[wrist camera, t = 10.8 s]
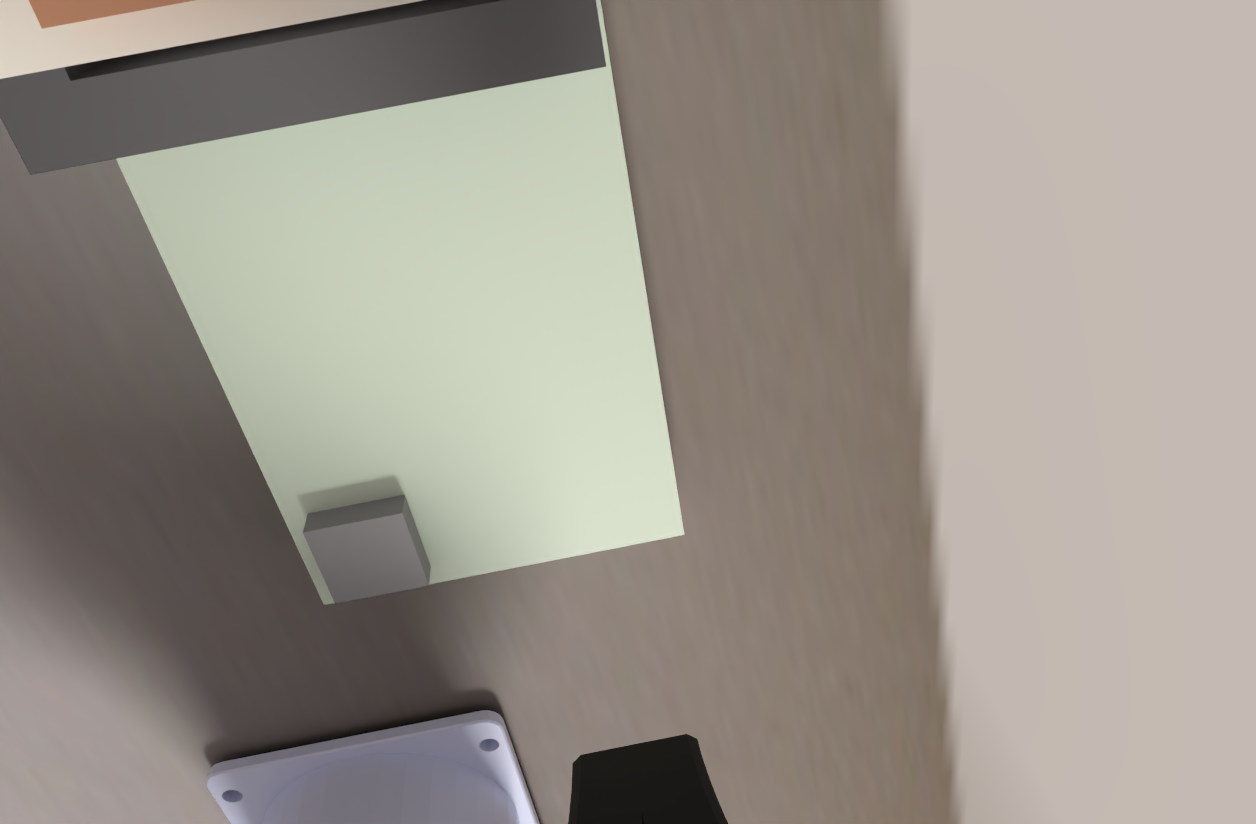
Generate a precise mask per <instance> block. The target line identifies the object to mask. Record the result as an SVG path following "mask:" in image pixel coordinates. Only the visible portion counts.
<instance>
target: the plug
mask: <svg viewBox="0 0 1256 824" xmlns="http://www.w3.org/2000/svg"><path fill="white" fill-rule="evenodd" d="M418 1H423V0H0V79H3V78H8V77H14V76H19V75H24V74H30V73H35V72H41V71H46V70H51V69H57V68H62V67H68V66H73V65H78V64H84V63H89V62H94V61H100V60H105V59H111V58H116V57H121V56H127V55H132V54H138V53H143V52H148V51H154V50H159V49H165V48H170V47H175V46H181V45H186V44H192V43H197V42H202V41H208V40H213V39H218V38H224V37H229V36H235V35H240V34H245V33H251V32H256V31H262V30H267V29H272V28H278V27H283V26H289V25H294V24H299V23H305V22H310V21H315V20H321V19H326V18H332V17H337V16H342V15H348V14H353V13H359V12H364V11H369V10H375V9H380V8H386V7H391V6H396V5H402V4H407V3H412V2H418Z"/></svg>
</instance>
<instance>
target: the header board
mask: <svg viewBox="0 0 1256 824" xmlns="http://www.w3.org/2000/svg"><path fill="white" fill-rule="evenodd" d="M0 118H1V119H2V121H3V123H4V125H5V127H6V129H7V131H8V133H9V135H10V137H11V139H12V140H13V142H14V144H15V146H16V148H17V150H18V152H19V154H20V156H21V158H22V160H23V161H24V163H25V165H26V167H27V169H28V171H29V173H30V175H32V174H37V173H42V172H48V171H53V170H58V169H64V168H69V167H74V166H80V165H85V164H90V163H96V162H101V161H106V160H112V159H116V160H117V162H118V165H119V167H120V169H121V171H122V173H123V175H124V177H125V180H126V182H127V184H128V186H129V188H130V190H131V192H132V195H133V197H134V199H135V201H136V203H137V205H138V207H139V210H140V212H141V214H142V216H143V218H144V220H145V222H146V225H147V227H148V229H149V231H150V233H151V235H152V237H153V240H154V242H155V244H156V246H157V248H158V250H159V252H160V255H161V257H162V259H163V261H164V263H165V265H166V267H167V270H168V272H169V274H170V276H171V278H172V280H173V282H174V285H175V287H176V289H177V291H178V293H179V295H180V297H181V300H182V302H183V304H184V306H185V308H186V310H187V312H188V315H189V317H190V319H191V321H192V323H193V325H194V327H195V330H196V332H197V334H198V336H199V338H200V340H201V342H202V345H203V347H204V349H205V351H206V353H207V355H208V357H209V360H210V362H211V364H212V366H213V368H214V370H215V372H216V375H217V377H218V379H219V381H220V383H221V385H222V388H223V390H224V392H225V394H226V396H227V398H228V400H229V403H230V405H231V407H232V409H233V411H234V413H235V415H236V418H237V420H238V422H239V424H240V426H241V428H242V430H243V433H244V435H245V437H246V439H247V441H248V443H249V445H250V448H251V450H252V452H253V454H254V456H255V458H256V460H257V463H258V465H259V467H260V469H261V471H262V473H263V475H264V478H265V480H266V482H267V484H268V486H269V488H270V490H271V493H272V495H273V497H274V499H275V501H276V503H277V505H278V508H279V510H280V512H281V514H282V516H283V518H284V520H285V523H286V525H287V527H288V529H289V531H290V533H291V535H292V538H293V540H294V542H295V544H296V546H297V548H298V550H299V553H300V555H301V557H302V559H303V561H304V563H305V565H306V568H307V570H308V572H309V574H310V576H311V578H312V580H313V583H314V585H315V587H316V589H317V591H318V593H319V595H320V598H321V600H322V602H323V604H324V605H327V604H332V603H335V604H338V603H343V602H348V601H353V600H358V599H363V598H368V597H374V596H379V595H384V594H389V593H394V592H399V591H404V590H409V589H415V588H420V587H425V586H429V584H434V583H439V582H445V581H450V580H455V579H460V578H465V577H470V576H475V575H480V574H486V573H491V572H496V571H501V570H506V569H511V568H516V567H521V566H526V565H532V564H537V563H542V562H547V561H552V560H557V559H562V558H567V557H573V556H578V555H583V554H588V553H593V552H598V551H603V550H608V549H614V548H619V547H624V546H629V545H634V544H639V543H644V542H649V541H654V540H660V539H665V538H670V537H675V536H680V535H684V530H683V524H682V517H681V511H680V505H679V498H678V492H677V486H676V479H675V473H674V466H673V460H672V454H671V447H670V441H669V435H668V428H667V422H666V415H665V409H664V403H663V396H662V390H661V383H660V377H659V371H658V364H657V358H656V352H655V345H654V339H653V332H652V326H651V320H650V313H649V307H648V300H647V294H646V288H645V281H644V275H643V269H642V262H641V256H640V249H639V243H638V237H637V230H636V224H635V217H634V211H633V205H632V198H631V192H630V186H629V179H628V173H627V166H626V160H625V154H624V147H623V141H622V134H621V128H620V122H619V115H618V109H617V103H616V96H615V90H614V83H613V77H612V71H611V64H610V58H609V52H608V45H607V39H606V32H605V26H604V20H603V13H602V7H601V0H423V1H418V2H412V3H407V4H402V5H396V6H391V7H386V8H380V9H375V10H369V11H364V12H359V13H353V14H348V15H342V16H337V17H332V18H326V19H321V20H315V21H310V22H305V23H299V24H294V25H289V26H283V27H278V28H272V29H267V30H262V31H256V32H251V33H245V34H240V35H235V36H229V37H224V38H218V39H213V40H208V41H202V42H197V43H192V44H186V45H181V46H175V47H170V48H165V49H159V50H154V51H148V52H143V53H138V54H132V55H127V56H121V57H116V58H111V59H105V60H100V61H94V62H89V63H84V64H78V65H73V66H68V67H62V68H57V69H51V70H46V71H41V72H35V73H30V74H24V75H19V76H14V77H8V78H3V79H0Z"/></svg>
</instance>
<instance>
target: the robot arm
mask: <svg viewBox="0 0 1256 824" xmlns="http://www.w3.org/2000/svg"><path fill="white" fill-rule="evenodd" d="M205 783H206V786H207V788H208V789H209V791H210V792H211V794H212V795H213V797H214V798H215V800H216V801H217V803H218V804H219V806H220V807H221V809H222V810H223V812H224V813H225V815H226V817H227V818H228V820H229V821H230V823H231V824H540V823H539V820H538V817H537V814H536V811H535V809H534V806H533V803H532V800H531V797H530V794H529V791H528V789H527V786H526V783H525V780H524V777H523V774H522V771H521V769H520V766H519V763H518V760H517V757H516V754H515V751H514V749H513V746H512V743H511V740H510V737H509V734H508V731H507V729H506V726H505V723H504V720H503V718H502V717H501V715H499V714H498V713H496V712H494V711H489V710H482V711H476V712H471V713H466V714H461V715H456V716H451V717H446V718H441V719H436V720H431V721H426V722H421V723H416V724H411V725H405V726H400V727H395V728H390V729H385V730H380V731H375V732H370V733H365V734H360V735H355V736H350V737H345V738H340V739H335V740H330V741H324V742H319V743H314V744H309V745H304V746H299V747H294V748H289V749H284V750H279V751H274V752H269V753H264V754H259V755H254V756H248V757H243V758H238V759H233V760H228V761H223V762H220V763H217V764H214V765H213V766H212V767H211V768H210V769H209V772H208V775H207V779H206V782H205ZM568 824H728V822H727V820H726V818H725V816H724V813H723V811H722V809H721V806H720V804H719V802H718V799H717V797H716V794H715V792H714V789H713V787H712V784H711V782H710V779H709V776H708V773H707V770H706V767H705V764H704V761H703V758H702V755H701V752H700V748H699V744H698V740H697V739H696V738H694V737H692V736H690V735H687V734H685V735H680V736H675V737H670V738H665V739H659V740H654V741H649V742H644V743H639V744H634V745H629V746H624V747H619V748H614V749H609V750H604V751H599V752H594V753H589V754H584V755H580V756H579V757H578V759H577V760H576V761H575V762H574V763H573V772H572V793H571V804H570V814H569V823H568Z"/></svg>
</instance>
